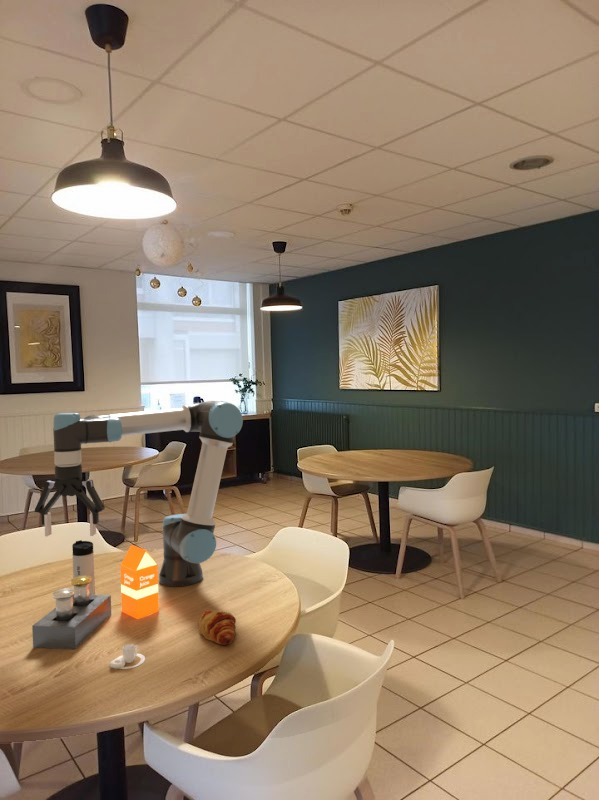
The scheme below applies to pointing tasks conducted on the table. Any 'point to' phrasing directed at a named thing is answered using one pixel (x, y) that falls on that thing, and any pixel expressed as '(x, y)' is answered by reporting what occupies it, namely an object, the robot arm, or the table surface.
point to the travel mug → (84, 561)
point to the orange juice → (139, 583)
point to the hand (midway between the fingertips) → (70, 535)
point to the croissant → (218, 626)
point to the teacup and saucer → (127, 657)
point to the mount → (71, 625)
